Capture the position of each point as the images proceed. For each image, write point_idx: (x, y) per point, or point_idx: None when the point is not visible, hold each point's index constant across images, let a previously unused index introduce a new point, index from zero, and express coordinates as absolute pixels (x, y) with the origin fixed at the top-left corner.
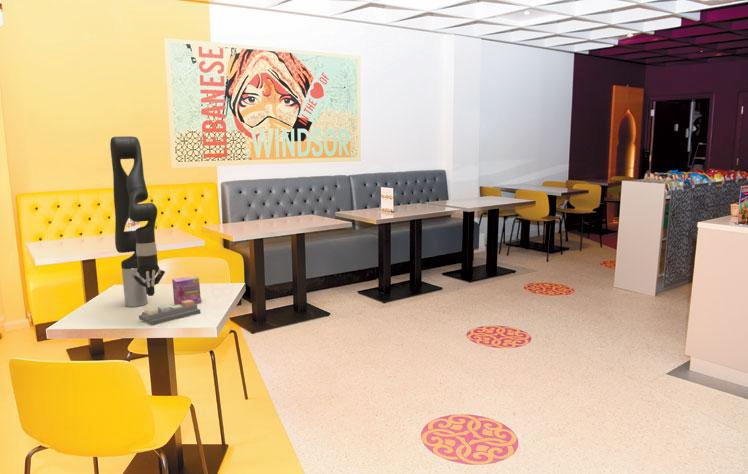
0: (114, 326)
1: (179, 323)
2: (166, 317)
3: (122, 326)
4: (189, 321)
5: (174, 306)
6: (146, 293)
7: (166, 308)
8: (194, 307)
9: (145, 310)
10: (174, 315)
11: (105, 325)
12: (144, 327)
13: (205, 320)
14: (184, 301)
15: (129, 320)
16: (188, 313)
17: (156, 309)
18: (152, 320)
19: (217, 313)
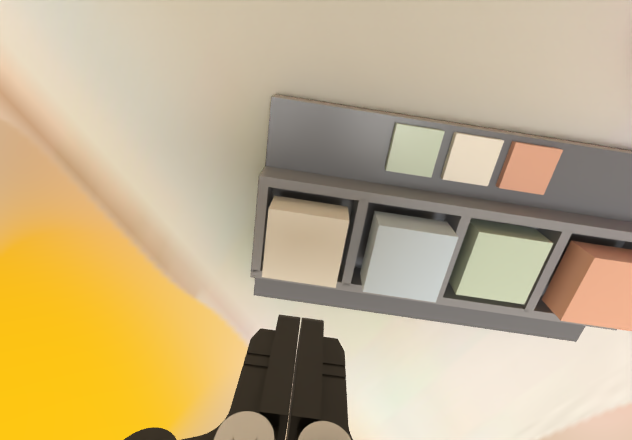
0: (81, 103)
1: (366, 366)
2: (357, 302)
3: (124, 152)
4: (415, 379)
5: (495, 262)
6: (251, 341)
7: (403, 292)
8: None
9: (267, 220)
10: (410, 309)
11: (31, 13)
12: (213, 279)
13: (464, 421)
14: (602, 280)
15: (211, 60)
16: (493, 325)
17: (328, 280)
18: (270, 283)
19: (589, 393)
